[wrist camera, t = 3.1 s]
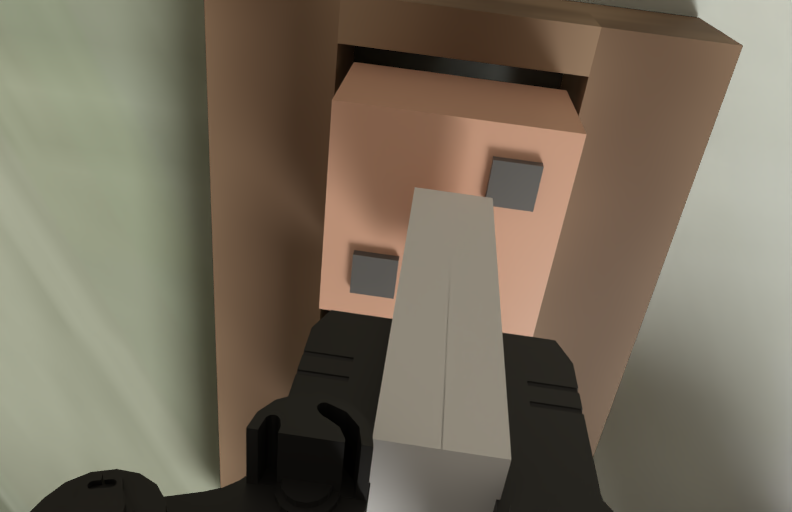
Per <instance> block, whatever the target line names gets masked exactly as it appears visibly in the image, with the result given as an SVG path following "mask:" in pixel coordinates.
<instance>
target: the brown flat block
mask: <svg viewBox="0 0 792 512" xmlns="http://www.w3.org/2000/svg"><path fill="white" fill-rule="evenodd" d="M204 11H205V41H206V70H207V100H208V129H209V159H210V188H211V218H212V247H213V277H214V306H215V335H216V365H217V394H218V424H219V453H220V483H221V488H223V487H225V486H227V485H230V484H232V483H234V482H237V481H239V480H241V479H242V478H244V477H245V476H246V427H247V426H248V424H249V423H250V422H251V420H252V419H253V417H254V416H255V414H256V413H257V411H259V410H260V409H262V408H264V407H265V406H267V405H268V404H270V403H271V402H273V401H274V400H276V399H280V398H283V397H287V396H288V395H289V392H290V389H291V386H292V383H293V380H294V378H295V375H296V374H297V369H298V366H299V363H300V360H301V357H302V355H303V353H304V348H305V345H306V342H307V340H308V337H309V334H310V331H311V328H312V327H313V326H314V325H315V324H316V323H317V322H318V321H320V320H321V319H322V318H323V317H324V316H325V315H326V314H327V313H328V312H330V311H331V310H325V309H319V301H320V284H321V268H322V252H323V236H324V220H325V204H326V188H327V172H328V156H329V140H330V124H331V107H332V99H333V97H334V95H335V94H336V92H337V90H338V89H339V87H340V85H341V83H342V82H343V80H344V78H345V77H346V75H347V73H348V71H349V70H350V68H351V66H352V64H353V63H354V49H355V46H362V47H370V48H377V49H385V50H392V51H400V52H407V53H415V54H422V55H430V56H437V57H445V58H452V59H460V60H467V61H475V62H482V63H490V64H497V65H505V66H512V67H520V68H527V69H535V70H542V71H550V72H557V73H563V77H562V81H561V85H560V90H567V92H568V94H569V97H570V99H571V101H572V103H573V105H574V108H575V110H576V112H577V114H578V116H579V119H580V121H581V123H582V125H583V127H584V130H585V132H586V134H587V135H586V139H585V143H584V146H583V150H582V154H581V158H580V161H579V165H578V169H577V173H576V176H575V180H574V184H573V188H572V192H571V195H570V199H569V203H568V207H567V210H566V214H565V218H564V222H563V225H562V229H561V233H560V237H559V240H558V244H557V248H556V252H555V255H554V259H553V263H552V267H551V270H550V274H549V278H548V282H547V286H546V289H545V293H544V297H543V301H542V304H541V308H540V312H539V316H538V319H537V323H536V327H535V331H534V334H533V337H537V338H543V339H550V340H556V342H557V343H558V344H559V346H560V347H561V348H562V350H563V351H564V352H565V354H566V355H567V356H568V357H569V359H570V360H571V361H572V363H573V365H574V370H575V375H576V380H577V384H578V393H579V394H580V399H581V403H582V408H583V410H582V414H584V418H585V422H586V427H587V432H588V437H589V441H590V446H591V451H592V456H594V453H595V450H596V448H597V445H598V442H599V439H600V437H601V434H602V431H603V428H604V426H605V423H606V420H607V417H608V415H609V412H610V409H611V406H612V404H613V401H614V398H615V395H616V393H617V390H618V387H619V384H620V382H621V379H622V376H623V373H624V371H625V368H626V365H627V362H628V360H629V357H630V354H631V351H632V349H633V346H634V343H635V341H636V338H637V335H638V332H639V330H640V327H641V324H642V321H643V319H644V316H645V313H646V310H647V308H648V305H649V302H650V299H651V297H652V294H653V291H654V288H655V286H656V283H657V280H658V277H659V275H660V272H661V269H662V266H663V264H664V261H665V258H666V255H667V253H668V250H669V247H670V244H671V242H672V239H673V236H674V233H675V231H676V228H677V225H678V222H679V220H680V217H681V214H682V211H683V209H684V206H685V203H686V200H687V198H688V195H689V192H690V189H691V187H692V184H693V181H694V179H695V176H696V173H697V170H698V168H699V165H700V162H701V159H702V157H703V154H704V151H705V148H706V146H707V143H708V140H709V137H710V135H711V132H712V129H713V126H714V124H715V121H716V118H717V115H718V113H719V110H720V107H721V104H722V102H723V99H724V96H725V93H726V91H727V88H728V85H729V82H730V80H731V77H732V74H733V71H734V69H735V66H736V63H737V60H738V58H739V55H740V52H741V49H742V47H743V46H742V45H741V44H739V43H738V42H736V41H735V40H733V39H732V38H730V37H728V36H727V35H725V34H724V33H722V32H721V31H719V30H717V29H716V28H714V27H713V26H711V25H710V24H708V23H706V22H705V21H703V20H702V19H700V18H697V17H689V16H682V15H674V14H666V13H659V12H651V11H643V10H636V9H628V8H621V7H613V6H605V5H598V4H590V3H582V2H575V1H567V0H204Z"/></svg>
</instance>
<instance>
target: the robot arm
mask: <svg viewBox="0 0 792 512" xmlns="http://www.w3.org/2000/svg"><path fill="white" fill-rule="evenodd" d="M582 410H583V408H582V403H581V399H580V394H579V393H578V384H577V380H576V375H575V370H574V365H573V363H572V361H571V360H570V359H569V357H568V356H567V355H566V354H565V352H564V351H563V350H562V348H561V347H560V346H559V344H558V343H557V342H556V340H550V339H543V338H537V337H530V336H523V335H516V334H509V333H502V322H501V308H500V294H499V280H498V266H497V252H496V238H495V224H494V211H493V198H489V197H481V196H474V195H467V194H460V193H453V192H446V191H438V190H431V189H424V188H417V187H415V189H414V195H413V201H412V207H411V213H410V218H409V224H408V230H407V236H406V242H405V248H404V254H403V260H402V266H401V272H400V278H399V283H398V289H397V295H396V301H395V307H394V313H393V319H390V318H383V317H376V316H369V315H363V314H356V313H349V312H342V311H335V310H331V311H330V312H328V313H327V314H326V315H325V316H324V317H323V318H322V319H321V320H320V321H318V322H317V323H316V324H315V325H314V326H313V327H312V328H311V331H310V334H309V337H308V340H307V342H306V345H305V348H304V353H303V355H302V357H301V360H300V363H299V366H298V369H297V374H296V375H295V378H294V380H293V383H292V386H291V389H290V392H289V395H288V396H287V397H283V398H280V399H276V400H274V401H273V402H271V403H270V404H268V405H267V406H265V407H264V408H262V409H260V410H259V411H257V413H256V414H255V416H254V417H253V419H252V420H251V422H250V423H249V424H248V426H247V427H246V476H245V477H244V478H242V479H241V480H239V481H237V482H234V483H232V484H230V485H227V486H225V487H223V488H218V489H214V490H209V491H205V492H198V493H190V494H182V495H174V496H166V497H163V495H162V493H161V491H160V490H159V488H158V486H157V484H155V483H154V482H152V481H150V480H149V479H147V478H146V477H144V476H143V475H141V474H140V473H135V472H129V471H124V470H119V469H114V470H105V471H97V472H90V473H88V474H85V475H83V476H80V477H78V478H75V479H73V480H70V481H68V482H65V483H64V484H63V485H61V486H60V487H58V488H57V489H56V490H54V491H53V492H52V493H50V494H49V495H48V496H46V497H45V498H44V499H43V500H42V501H41V502H40V503H38V504H37V505H36V506H35V507H34V508H33V509H32V510H31V511H30V512H613V511H612V510H611V508H610V507H609V506H608V505H607V504H606V503H605V502H603V499H602V496H601V494H600V489H599V484H598V479H597V475H596V470H595V465H594V460H593V456H592V451H591V446H590V441H589V437H588V432H587V427H586V422H585V418H584V414H582Z"/></svg>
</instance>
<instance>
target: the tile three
mask: <svg viewBox="0 0 792 512" xmlns="http://www.w3.org/2000/svg"><path fill="white" fill-rule="evenodd" d="M586 135H587V134H586V132H585V130H584V127H583V125H582V123H581V121H580V119H579V116H578V114H577V112H576V110H575V108H574V105H573V103H572V101H571V99H570V97H569V94H568V92H567V90H560V89H553V88H545V87H538V86H530V85H523V84H515V83H508V82H501V81H493V80H486V79H478V78H471V77H463V76H456V75H448V74H441V73H433V72H426V71H418V70H411V69H404V68H396V67H389V66H381V65H374V64H366V63H359V62H354V63H353V64H352V66H351V68H350V70H349V71H348V73H347V75H346V77H345V78H344V80H343V82H342V83H341V85H340V87H339V89H338V90H337V92H336V94H335V95H334V97H333V99H332V107H331V124H330V140H329V156H328V172H327V188H326V204H325V220H324V236H323V252H322V268H321V284H320V301H319V309H325V310H335V311H342V312H349V313H356V314H363V315H369V316H376V317H383V318H390V319H393V313H394V307H395V301H396V295H397V289H398V283H399V278H400V272H401V266H402V260H403V254H404V248H405V242H406V236H407V230H408V224H409V218H410V213H411V207H412V201H413V195H414V189H415V187H417V188H424V189H431V190H438V191H446V192H453V193H460V194H467V195H474V196H481V197H489V198H493V211H494V224H495V238H496V252H497V266H498V280H499V294H500V308H501V322H502V333H509V334H516V335H523V336H530V337H533V334H534V331H535V327H536V323H537V319H538V316H539V312H540V308H541V304H542V301H543V297H544V293H545V289H546V286H547V282H548V278H549V274H550V270H551V267H552V263H553V259H554V255H555V252H556V248H557V244H558V240H559V237H560V233H561V229H562V225H563V222H564V218H565V214H566V210H567V207H568V203H569V199H570V195H571V192H572V188H573V184H574V180H575V176H576V173H577V169H578V165H579V161H580V158H581V154H582V150H583V146H584V143H585V139H586Z"/></svg>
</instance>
